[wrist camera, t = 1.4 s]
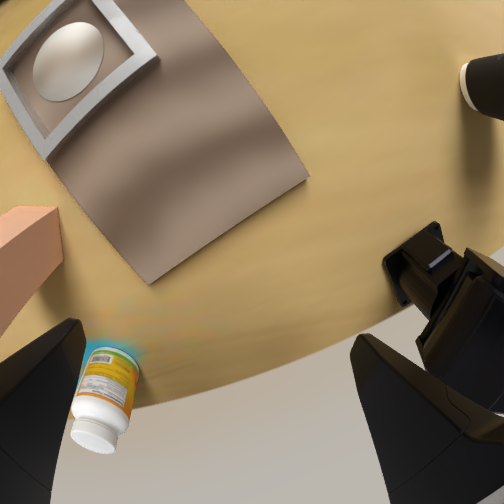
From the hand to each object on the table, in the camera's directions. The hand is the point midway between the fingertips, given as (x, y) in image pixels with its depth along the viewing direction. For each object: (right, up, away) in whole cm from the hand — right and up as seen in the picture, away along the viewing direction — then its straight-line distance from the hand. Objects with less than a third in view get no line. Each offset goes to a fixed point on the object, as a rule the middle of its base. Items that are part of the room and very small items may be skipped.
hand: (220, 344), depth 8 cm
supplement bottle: (-13, -8, +17) cm, 23 cm away
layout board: (-7, +12, +8) cm, 16 cm away
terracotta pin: (-16, +4, +10) cm, 20 cm away
